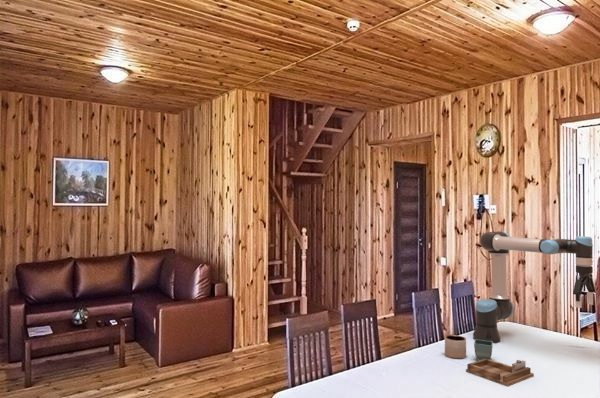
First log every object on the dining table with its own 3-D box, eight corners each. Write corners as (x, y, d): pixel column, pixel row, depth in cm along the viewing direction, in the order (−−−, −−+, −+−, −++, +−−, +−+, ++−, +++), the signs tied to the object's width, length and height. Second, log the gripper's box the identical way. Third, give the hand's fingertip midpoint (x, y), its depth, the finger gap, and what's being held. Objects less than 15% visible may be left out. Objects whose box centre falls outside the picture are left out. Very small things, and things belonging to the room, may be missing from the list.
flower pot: (492, 358, 230) (492, 341, 231) (492, 363, 222) (492, 345, 223) (475, 355, 234) (474, 339, 234) (474, 361, 226) (473, 343, 226)
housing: (465, 371, 211) (465, 364, 211) (492, 363, 223) (492, 355, 223) (507, 386, 193) (507, 377, 193) (533, 376, 206) (533, 368, 206)
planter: (444, 357, 231) (444, 339, 231) (445, 351, 241) (445, 333, 241) (466, 360, 227) (466, 341, 227) (466, 354, 237) (466, 336, 237)
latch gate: (511, 374, 203) (511, 362, 203) (522, 370, 208) (521, 358, 208) (515, 376, 202) (515, 363, 202) (526, 372, 207) (526, 359, 207)
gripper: (581, 268, 222) (581, 310, 221) (602, 264, 236) (602, 304, 236) (565, 266, 228) (565, 307, 228) (586, 263, 242) (587, 301, 242)
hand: (584, 306), depth 232 cm, fingers open, 13 cm apart
